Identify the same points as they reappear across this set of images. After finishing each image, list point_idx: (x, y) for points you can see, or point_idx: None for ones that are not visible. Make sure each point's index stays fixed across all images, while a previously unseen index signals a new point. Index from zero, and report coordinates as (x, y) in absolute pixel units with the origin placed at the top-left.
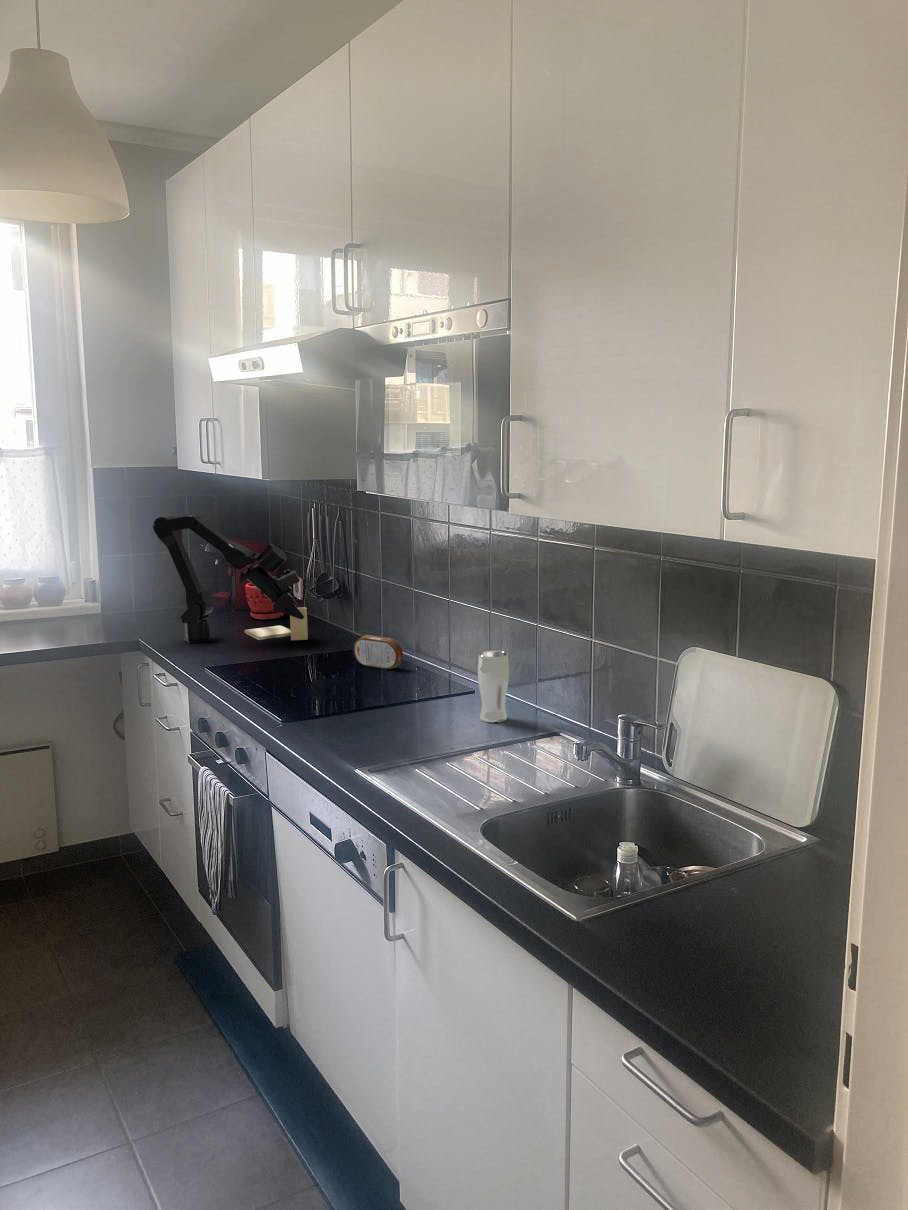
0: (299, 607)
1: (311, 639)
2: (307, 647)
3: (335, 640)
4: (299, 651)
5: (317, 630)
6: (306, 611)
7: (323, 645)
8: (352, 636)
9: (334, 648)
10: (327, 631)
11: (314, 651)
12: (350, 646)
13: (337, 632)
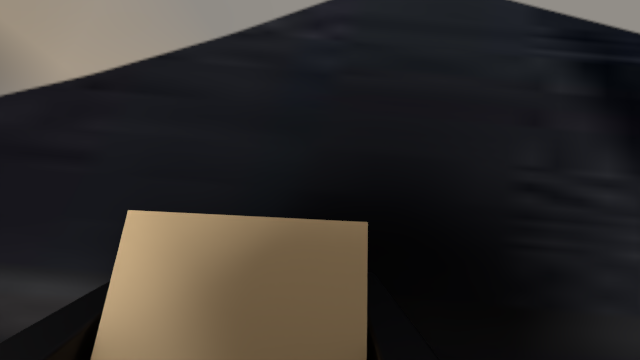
0: (102, 315)
1: None
2: (494, 282)
3: (338, 113)
4: (608, 346)
5: (37, 183)
6: (364, 229)
7: (451, 184)
8: (268, 33)
9: (534, 135)
10: (94, 133)
11: (608, 248)
12: (494, 60)
13: (144, 88)
